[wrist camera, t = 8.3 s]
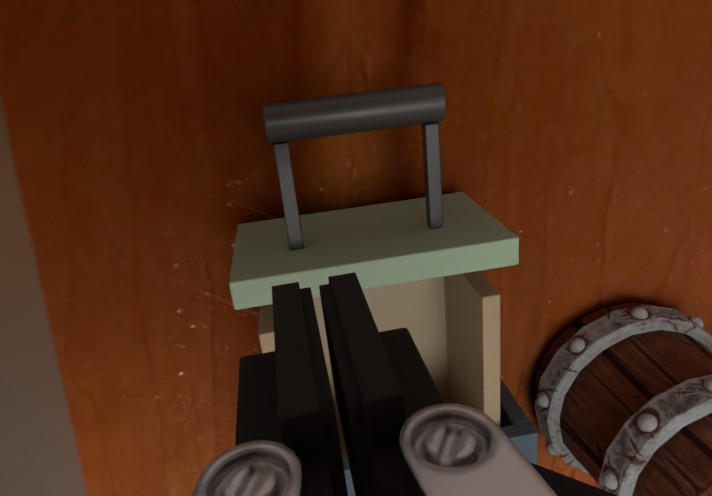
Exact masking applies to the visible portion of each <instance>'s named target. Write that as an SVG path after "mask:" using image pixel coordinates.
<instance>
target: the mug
mask: <svg viewBox="0 0 712 496" xmlns="http://www.w3.org/2000/svg"><path fill="white" fill-rule="evenodd" d="M580 325H581V327H580V328H579V329H577V328H575V327H572V326H570V327H569V328H568V329H567V330H566V331H565V332H564V333H563V334H562V335H561V336H560V337H559V338H558V339H557V340H555V341H554V342H553V343H552V345H551V347H550V348H549V350H548V352H547V353H546V355H545V357H544V359H543V360H542V362H541V364H540V365H539V367H538V369H537V374H536V379H535V384H534V390H535V391H536V392H537V395H534V397H533V398H534V402H535V411H536V416H537V421H538V425H539V430H540V432H541V434H542V435H543V436H544V437H545V439H546V440H547V441H548V442H547V443H546V449H547V451H548V452H549V453H550V454H552V455H559V456H560V457H561V458H562V459H563V460H564V462H565V463H566V464H567V465H570V466H572V467H574V468H576V469H578V470H580V471H582V472H584V473H586V474H588V475H591V476H592V477H593V479H594V480H595V481H596V482H597V483H598V484H599V486H600V489H602V490H604V491H607V492H610V493H612V494H615V495H618V496H712V336H711V335H710V334H709V333H708V332H706V331H705V330H704V329H703V322H702V320H701V319H700V318H698V317H696V316H690V317H686V316H685V315H683V314H682V313H680V312H679V311H677V310H676V309H671V308H664V307H658V306H652V305H645V304H639V303H633V302H631V303H626V304H620V305H615V306H610V307H605V308H602V309H600V310H598V311H596V312H594V313H592V314H590V315H588V316H586V317H584V318H582V319H580Z"/></svg>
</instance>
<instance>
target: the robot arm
mask: <svg viewBox="0 0 712 496" xmlns="http://www.w3.org/2000/svg"><path fill="white" fill-rule="evenodd" d="M328 280H329V284H325V285H319V290H320V297H321V303H322V310H323V317H324V324H325V330H326V337H327V344H328V351H329V357H330V364H331V371H332V377H333V384H334V391H335V397H336V403H337V409H338V414H339V419H340V424H341V429H342V433H343V438H344V443H345V448H346V453H347V458H348V462H349V467H350V472H351V477H352V482H353V487H354V491H355V496H618V495H615V494H612V493H610V492H607V491H604V490H602V489H599V488H597V487H594V486H591V485H589V484H586V483H583V482H581V481H578V480H575V479H573V478H570V477H567V476H565V475H562V474H559V473H557V472H554V471H552V470H549V469H546V468H544V467H541V466H538V465H536V464H533V463H530V462H529V461H528V460H527V459H526V458H525V457H524V455H523V454H522V453H521V452H520V451H519V449H518V448H517V447H516V446H515V445H514V444H513V442H512V441H511V440H510V439H509V438H508V436H507V435H506V434H505V433H504V432H503V431H502V429H501V428H500V427H499V426H498V425H497V423H496V422H495V421H494V420H492V419H491V418H490V417H489V416H488V415H487V414H485V413H484V412H482V411H479V410H477V409H475V408H473V407H470V406H466V405H461V404H450V403H444V402H443V400H442V398H441V396H440V394H439V392H438V390H437V388H436V386H435V384H434V381H433V379H432V377H431V375H430V373H429V371H428V369H427V367H426V365H425V363H424V361H423V359H422V357H421V355H420V353H419V351H418V349H417V347H416V345H415V343H414V341H413V339H412V337H411V335H410V333H409V331H408V329H407V328H399V329H394V330H388V331H383V332H379V331H378V329H377V326H376V324H375V321H374V319H373V316H372V314H371V311H370V308H369V306H368V303H367V301H366V298H365V296H364V293H363V291H362V288H361V286H360V283H359V280H358V278H357V275H356V273H355V272H354V273H348V274H342V275H336V276H330V277H328ZM272 304H273V322H274V341H275V351H273V352H267V353H262V354H256V355H250V356H245V357H241V358H240V367H239V386H238V405H237V425H236V444H235V446H234V447H232V448H230V449H227V450H226V451H224V452H223V453H221V454H220V455H218V456H217V457H215V458H214V459H213V460H212V461H211V462H210V463H209V464H208V465H207V466H206V468H205V469H204V470H203V471H202V473H201V475H200V477H199V479H198V481H197V483H196V486H195V489H194V492H193V495H192V496H348V492H347V485H346V478H345V472H344V465H343V458H342V452H341V445H340V439H339V432H338V425H337V419H336V413H335V407H334V402H333V396H332V391H331V386H330V381H329V376H328V371H327V367H326V362H325V357H324V352H323V347H322V342H321V337H320V332H319V327H318V322H317V317H316V312H315V307H314V302H313V297H312V292H311V287H308V288H302V289H300V287H299V282H294V283H288V284H282V285H276V286H272Z"/></svg>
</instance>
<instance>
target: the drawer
mask: <svg viewBox="0 0 712 496" xmlns="http://www.w3.org/2000/svg"><path fill="white" fill-rule="evenodd" d="M262 114H263V121H264V127H265V133H266V138H267V142H268V143H269V144H273V148H274V154H275V160H276V167H277V173H278V179H279V185H280V192H281V198H282V204H283V210H284V217H285V218H278V219H271V220H264V221H258V222H251V223H244V224H238V225H237V231H236V238H235V245H234V252H233V259H232V266H231V272H230V279H229V287H230V292H231V297H232V301H233V306H234V309H235V310H239V309H245V308H251V307H258V306H259V339H260V344H261V350H262V353H267V352H273V351H275V341H274V322H273V304H272V286H276V285H282V284H288V283H294V282H299V287H300V289H302V288H308V287H311V292H312V297H313V302H314V307H315V312H316V317H317V322H318V327H319V332H320V337H321V342H322V347H323V352H324V357H325V362H326V367H327V371H328V376H329V381H330V386H331V391H332V396H333V402H334V407H335V413H336V419H337V425H338V432H339V439H340V445H341V452H342V458H344V457H347V453H346V448H345V443H344V438H343V433H342V429H341V424H340V419H339V414H338V409H337V403H336V397H335V391H334V384H333V377H332V371H331V364H330V357H329V351H328V344H327V337H326V330H325V324H324V317H323V310H322V303H321V297H320V290H319V285H325V284H329V280H328V277H330V276H336V275H342V274H348V273H354V272H355V273H356V275H357V278H358V280H359V283H360V286H361V288H362V291H363V293H364V296H365V298H366V301H367V303H368V306H369V308H370V311H371V314H372V316H373V319H374V321H375V324H376V326H377V329H378V331H379V332H383V331H388V330H394V329H399V328H407V329H408V331H409V333H410V335H411V337H412V339H413V341H414V343H415V345H416V347H417V349H418V351H419V353H420V355H421V357H422V359H423V361H424V363H425V365H426V367H427V369H428V371H429V373H430V375H431V377H432V379H433V381H434V384H435V386H436V388H437V390H438V392H439V394H440V396H441V398H442V400H443V402H444V403H450V404H461V405H466V406H470V407H473V408H475V409H477V410H479V411H482V412H484V413H485V414H487V415H488V416H489V417H490V418H491V419H492V420H494V421H495V422H496V423H497V425H498V426H499V427H500V294H499V293H498V292H497V291H496V289H495V288H494V287H493V286H492V285H491V284H490V283H489V282H488V281H487V279H486V278H485V277H484V276H483V275H482V274H481V273H480V272H479V271H481V270H488V269H494V268H500V267H506V266H512V265H518V264H519V238H518V237H517V236H516V235H515V234H513V233H512V232H511V231H510V230H509V229H507V228H506V227H505V226H504V225H502V224H501V223H500V222H499V221H498V220H496V219H495V218H494V217H493V216H491V215H490V214H489V213H488V212H486V211H485V210H484V209H483V208H482V207H480V206H479V205H478V204H477V203H475V202H474V201H473V200H472V199H471V198H469V197H468V196H467V195H466V194H464V193H463V192H458V193H451V194H444V195H442V183H441V159H440V136H439V123H437V122H441V121H443V120H444V119H445V115H446V96H445V91H444V88H443V86H442V84H441V83H430V84H422V85H414V86H406V87H398V88H390V89H382V90H373V91H365V92H357V93H349V94H341V95H333V96H325V97H317V98H308V99H300V100H292V101H284V102H276V103H268V104H263V105H262ZM418 124H421V126H422V145H423V163H424V181H425V197H423V198H416V199H409V200H402V201H395V202H389V203H382V204H375V205H368V206H361V207H354V208H347V209H340V210H333V211H327V212H320V213H313V214H306V215H299V210H298V203H297V196H296V189H295V183H294V176H293V169H292V163H291V156H290V149H289V143H288V141H295V140H303V139H311V138H318V137H326V136H334V135H341V134H349V133H357V132H364V131H372V130H380V129H387V128H395V127H403V126H410V125H418Z"/></svg>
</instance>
